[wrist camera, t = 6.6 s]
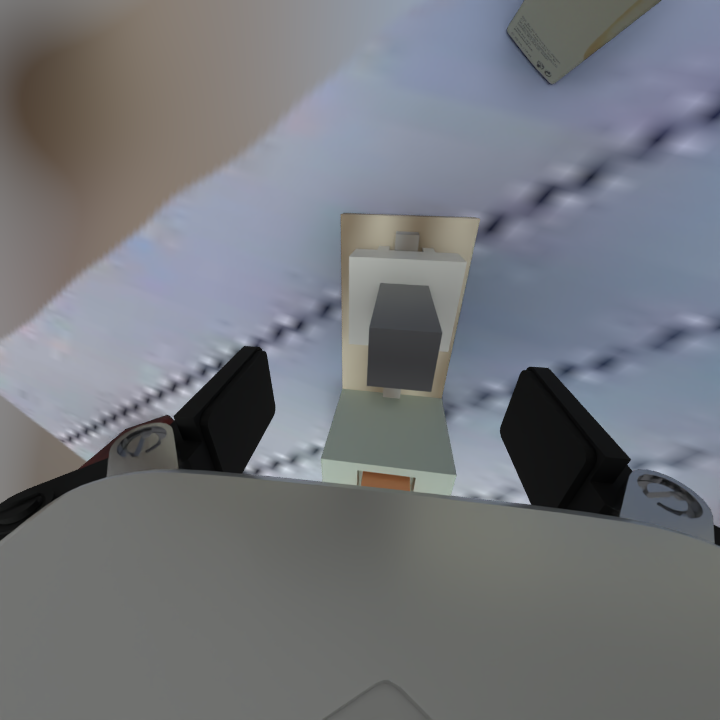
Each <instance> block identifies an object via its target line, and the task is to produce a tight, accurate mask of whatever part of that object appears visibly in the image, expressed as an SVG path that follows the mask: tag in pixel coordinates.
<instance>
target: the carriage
mask: <svg viewBox="0 0 720 720" xmlns="http://www.w3.org/2000/svg"><path fill="white" fill-rule="evenodd" d="M466 265H467V262H466V261H465V260H464V259H463V258H462V257H461V256H460V255H459V254H458V253H438V252H435V250H434V249H433V248H422V252H417V251H395V250H390V246H379V247H378V249H377V250H374V249H355V250H354V252H353V253H352V254H351V255H350V256H349V344H355V345H367V346H368V366H367V386H372V387H383V388H393V389H404V390H415V391H425V392H431V391H432V386H433V380H434V375H435V370H436V364H437V359H438V354H439V351H442V352H448V351H449V346H450V341H451V337H452V332H453V327H454V322H455V317H456V313H457V308H458V303H459V298H460V293H461V289H462V284H463V279H464V274H465V269H466Z"/></svg>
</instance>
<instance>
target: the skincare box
mask: <svg viewBox="0 0 720 720" xmlns="http://www.w3.org/2000/svg"><path fill="white" fill-rule="evenodd" d="M660 1H661V0H524V2H523V3H522V5H521V7H520V8H519V10H518V12H517V13H516V15H515V16H514V18H513V20H512V21H511V23H510V24H509V26H508V28H507V32H508V34H509V35H510V36H511V37H512V39H513V40H514V41H515V43H516V44H517V45H518V47H519V48H520V49H521V50H522V52H523V53H524V54H525V55H526V57H527V58H528V59H529V60H530V62H531V63H532V64H533V65H534V66H535V68H536V69H537V70H538V71H539V72H540V73H541V74H542V75H543V76H544V77H545V78H546V79H547V81H548V82H549V83H551V84H554V83H556V82H557V81H559V80H560V79H561V78H562V77H564V76H565V75H566V74H568V73H569V72H570V71H571V70H573V69H574V68H575V67H576V66H578V65H579V64H580V63H582V62H583V61H584V60H585V59H587V58H588V57H589V56H590V55H592V54H593V53H594V52H596V51H597V50H598V49H599V48H601V47H602V46H603V45H605V44H606V43H607V42H609V41H610V40H611V39H613V38H614V37H615V36H616V35H618V34H619V33H620V32H622V31H623V30H624V29H625V28H627V27H628V26H629V25H631V24H632V23H633V22H634V21H636V20H637V19H638V18H639V17H641V16H642V15H643V14H645V13H646V12H647V11H649V10H650V9H651V8H652V7H654V6H655V5H656V4H658V3H659V2H660Z"/></svg>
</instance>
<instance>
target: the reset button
mask: <svg viewBox="0 0 720 720" xmlns="http://www.w3.org/2000/svg"><path fill="white" fill-rule="evenodd" d="M361 486H367V487H376V488H386V489H395V490H404V491H410V477H407V476H399V475H391V474H383V473H375V472H367V471H363V474H362V481H361Z"/></svg>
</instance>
